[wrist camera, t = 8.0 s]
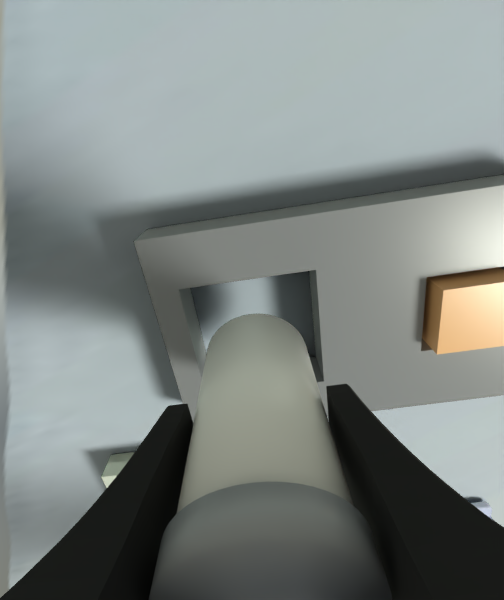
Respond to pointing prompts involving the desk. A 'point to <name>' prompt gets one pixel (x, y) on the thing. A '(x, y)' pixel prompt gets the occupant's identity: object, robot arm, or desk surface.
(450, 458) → the desk surface
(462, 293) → the button
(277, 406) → the grey cylinder
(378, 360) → the housing
